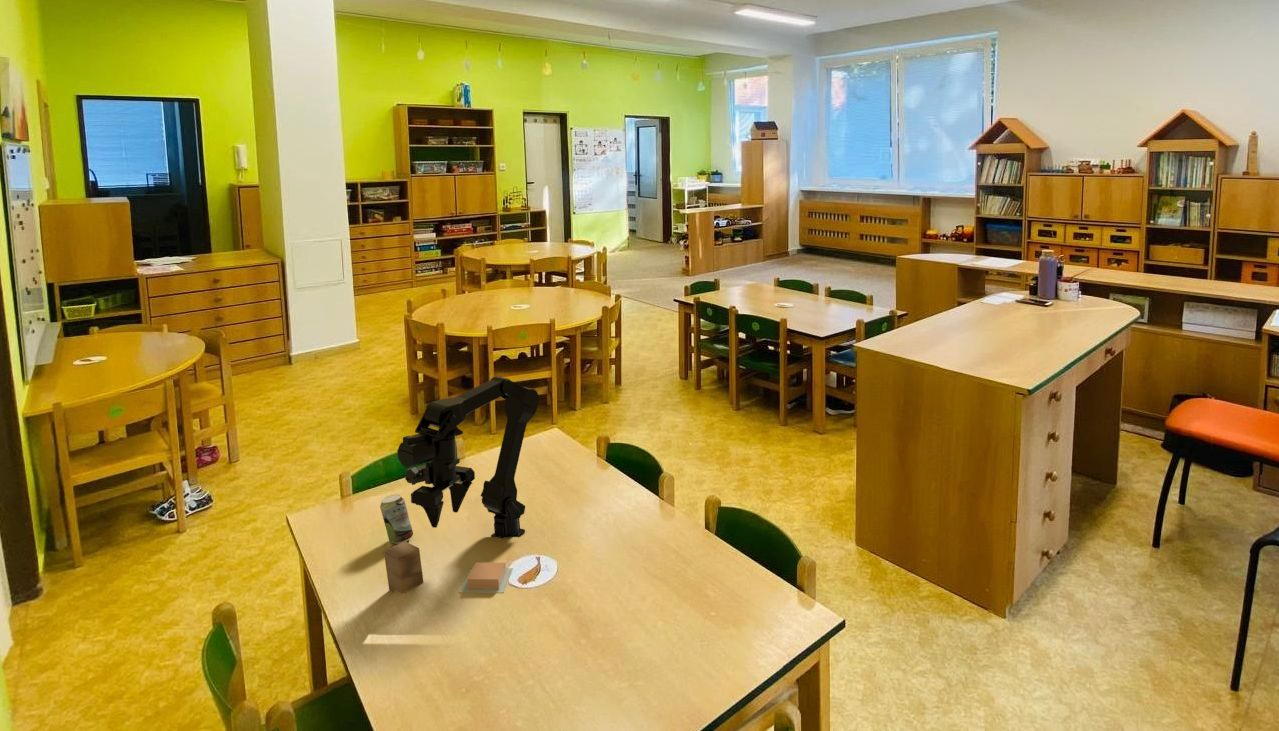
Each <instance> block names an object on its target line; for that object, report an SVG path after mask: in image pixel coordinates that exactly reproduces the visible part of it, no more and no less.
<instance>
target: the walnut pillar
mask: <svg viewBox="0 0 1279 731" xmlns="http://www.w3.org/2000/svg"><path fill="white" fill-rule="evenodd" d="M383 555H384V562H385V569H386V578H387V584H388V590H389V591H390V592H391V591H392V593H393V594H394V593H395V592H396V591H398V592H399V593H401V594H405V593H406V592H408V591H411V590H413V589H414V588H416V587H418V586H420V585H422V584H424V575H423V567H422V561H421V553H420V547H417V546H415V545H413V544H411V543H410V542H408V541H406V542H405V541H404V542H402V543H399V544H396V545H393V546H392V547H389V548H388V549H385V550H383Z"/></svg>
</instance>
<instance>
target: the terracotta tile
mask: <svg viewBox="0 0 1279 731" xmlns="http://www.w3.org/2000/svg"><path fill="white" fill-rule="evenodd" d="M472 568H473V569H472V571H471V573H470V575H469V577H468V579H467V581H468V589H499V588H500V586H501V584H502V581H503V579H504V577H505V574H506V568H507V565H506V562H475V563H474V565H473V567H472Z"/></svg>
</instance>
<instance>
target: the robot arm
mask: <svg viewBox="0 0 1279 731" xmlns="http://www.w3.org/2000/svg"><path fill="white" fill-rule="evenodd" d="M498 398H499V399H500V398H501V399H503V400H504V406H503V407H504V412H505V415H506V425H505V429H504V432H503V438H502V441H501V446H500V450H499V456H498V459H497V464H496V467H495V472H494V475H493V477H491V479H490V480H485V481H484V482H483V486H482V487H483V488H482V491H481V494H480V497H481V503H482V505H483V507H484V508H486V510H487V512H488V513H490V514H493V515H494V516H493V528H494V532H493V533H492V534H491V535H490V537H491V538H500V539H505V538H519V537H521V536H522V535H523V534H524V533H525V532H526V530H525V529H524V528H521V523H520V519H521V517H522V516H523V515H525V511H526V505H525V504H523V503H521V501H519V500H517V498H518V489H517V485H516V481H515V477H516V473H517V467H518V464H519V460H520V454H521V451H522V446H523V441H524V438H525V432H526V428H527V424H528V423H529V421H531V420H532V418H533V417H534V416H535V415H536V413H537V409H538V406H539V403H540V395H539V393H538V391H537V390H536V389H534V388H531V387H526V386H522V385H520V384H518V383H516V382H514V381H512V380H511V379H510V378H505V377H502V376H497V375H496V376H493V377H491V379H490V380H487V381H485V382H483V383H482V384H480V385H477V386H475V387H474V388H472V389H470V390H468V391H465V392H464V393H462V394H460V395H457V396H455V397H449V398H442V399H437V400H434V401H431V402H429V403H428V404H427V405H426V408H425V410H424V413H423V414H422V416H421V418H420V420H419V422H418V424H417V426H416V428H415V430H414V433H415V434H413V435H406V436H403V437H402V442H401V443H399V444H398V448H397V451H396V452H397V453H396V454H397V458H398V460H399V462H400V464H401V466H403V467H405V468H406V470H405V477H404V479H405V481H406V482H407V483H408V484H411V485H412V486H414V485H416V484H419V483H423V482H424V484H426V486H425V485H421V486H420V487H418V488H417V489H415V490H413V491H412V492H411V493H410V503H411V504H414V505H417V506H420V507H422V509H423V510H424V511H425V512H424V513H426V516H427V518H428V521H429V523H430V526H431V527H432V528H438V525H439V522H440V517H441V514H442V511H443V507H444V503H445V502H444V492H445V491H447V489H449V491H450V493H449V494H450V501H451V507H452V513H455V514H456V513H458V512H459V511H460V507H461V505H462V504H463V501H464V499H465V497H466V495H467V493H468V491H469V489H470V487H471V485H473V481H474V480H475V479H476V473H475V472H476V471H474V469H472V467H467V466H461V465H460V466H459V465H458V464H460V462H461V461H460V458H457V453H456V437H457V436H461V435H463V434H464V431H463V430H461V429H460V428H459V427H458V426H459V425H460V424H462V423H463V422H464V421H465V419H466V417H467V416H468V415H469V414H470V413H472V412H474V411H476V410H477V409H480V408H482V407H483V406H486V405H487V404H490V403H491V402H493V401H495V400H497V399H498ZM431 427H434V428H431ZM436 428H437V429H438V430H437V429H436ZM427 485H432V486H427Z"/></svg>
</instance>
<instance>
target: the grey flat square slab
mask: <svg viewBox="0 0 1279 731" xmlns="http://www.w3.org/2000/svg"><path fill="white" fill-rule="evenodd" d="M472 569H473V567H472V568H470V570H469V572H468V573H467V576H466V578H465V580H464V582H463V583H462V586H461V588H460V590H459V594H504V593H505V591H506V588H507V586H508V582H509V580H510V577H511V575H512V573H513V570H514V568H513V567H512V568H509V567H508V568H507V567H506V574H505V577H504V579H503V581H502V584H501V586H500V588H499V589H468V581H467V579H468V577H469V575H470V573H471V571H472Z"/></svg>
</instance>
